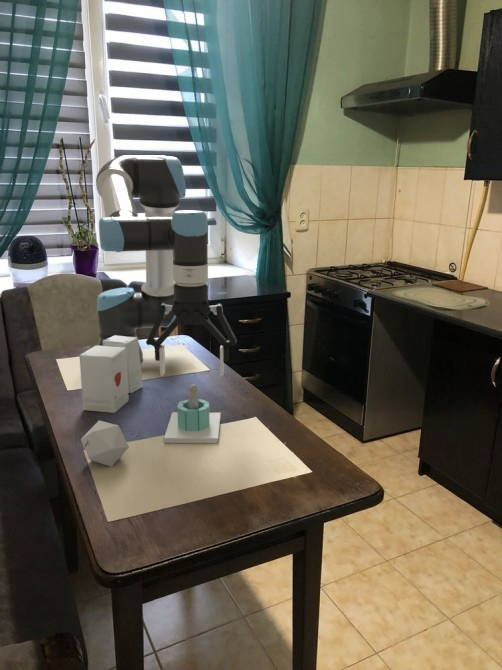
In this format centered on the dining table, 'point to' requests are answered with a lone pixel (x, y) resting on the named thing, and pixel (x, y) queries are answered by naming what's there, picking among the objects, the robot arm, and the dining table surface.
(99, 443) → the die
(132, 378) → the skincare box
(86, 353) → the supplement box
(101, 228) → the robot arm
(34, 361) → the dining table surface
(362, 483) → the dining table surface
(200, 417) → the teal ring
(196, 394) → the post stand
